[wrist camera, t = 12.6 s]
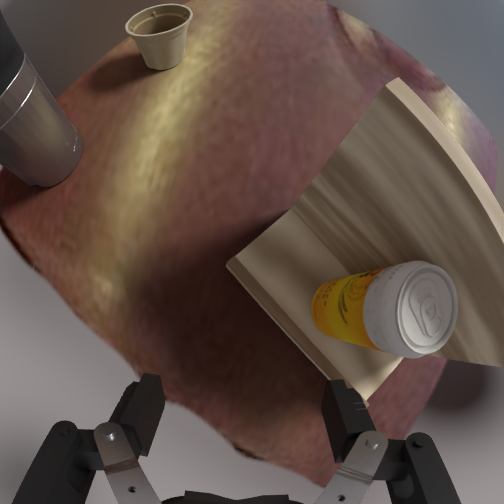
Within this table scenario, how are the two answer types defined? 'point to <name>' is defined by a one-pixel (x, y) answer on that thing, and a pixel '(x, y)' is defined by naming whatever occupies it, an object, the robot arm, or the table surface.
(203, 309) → the table surface
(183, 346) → the table surface
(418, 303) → the beer can
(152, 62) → the flower pot
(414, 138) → the wall board
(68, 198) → the table surface
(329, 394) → the robot arm
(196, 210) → the table surface
